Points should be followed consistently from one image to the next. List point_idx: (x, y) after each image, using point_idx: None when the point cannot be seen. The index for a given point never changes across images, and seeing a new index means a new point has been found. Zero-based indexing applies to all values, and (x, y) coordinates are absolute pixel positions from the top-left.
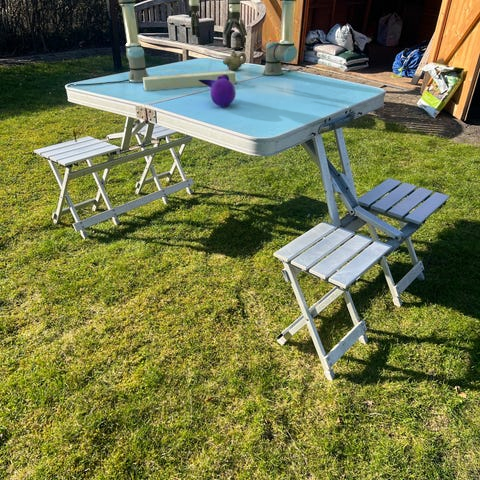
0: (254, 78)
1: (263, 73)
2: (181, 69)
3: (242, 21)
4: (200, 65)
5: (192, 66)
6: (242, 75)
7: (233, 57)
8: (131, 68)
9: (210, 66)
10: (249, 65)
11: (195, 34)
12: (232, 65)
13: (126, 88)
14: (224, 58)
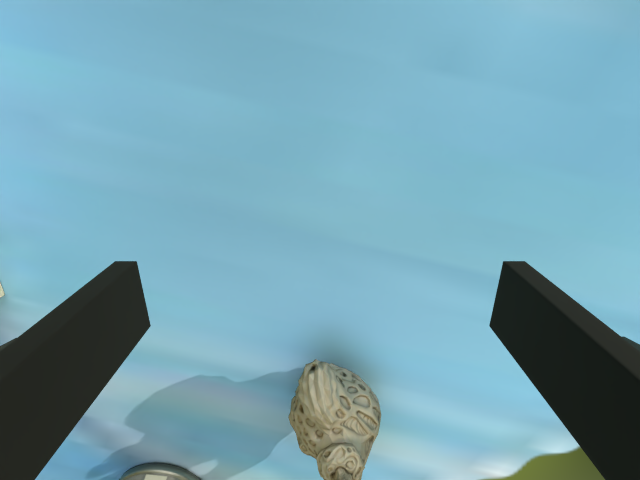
0: None
1: (167, 466)
2: (559, 75)
3: None
4: (625, 253)
5: (628, 190)
6: (165, 381)
7: (316, 445)
8: None
9: None
10: (438, 475)
11: (497, 329)
12: (296, 394)
13: None
14: (328, 393)
